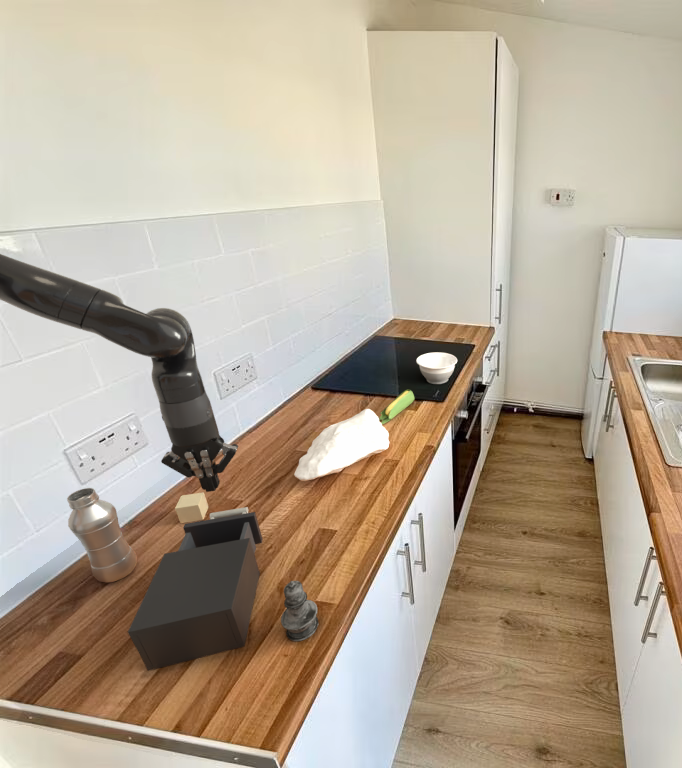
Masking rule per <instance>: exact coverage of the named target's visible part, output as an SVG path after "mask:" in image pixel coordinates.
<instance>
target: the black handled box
mask: <svg viewBox="0 0 682 768" xmlns="http://www.w3.org/2000/svg"><path fill="white" fill-rule="evenodd" d="M260 575H261V572H260V569H259V565H258V562H257V559H256V555H254V552H253V548H252V545H251V542H250V538H246V539H241V540H236V541H230V542H225V543H219V544H214V545H209V546H203V547H198V548H192V549H187V550H182V551H178V550H176V551H173V552H166V553H164V554H163V556H162V558H161V560H160V563H159V564H158V566H157V569H156V571H155V573H154V575H153V577H152V580H151V581H150V584H149V586H148V588H147V590H146V592H145V594H144V596H143V599H142V600H141V603H140V604H139V607H138V610H137V611H136V614H135V616H134V618H133V620H132V622H131V624H130V626H129V628H128V631H127V634H128V636H129V637H130V639H131V641H132V643H133V645H134V647H135V649H136V650H137V652H138V655H139V656H140V659H141V660H142V662H143V664H144V666H145V667H146V670H147V671H148V672H149V671H153V670H157V669H160V668H164V667H169V666H174V665H176V664H177V665H178V664H180V663H181V664H182V663H184V662H189V661H192V660H197V659H201V658H203V657H204V658H205V657H208V656H212V655H216V654H220V653H224V652H228V651H232V650H236V649H240V648H243V647H245V645H246V641H247V636H248V632H249V628H250V627H249V626H250V622H251V618H252V613H253V609H254V608H253V607H254V603H255V598H256V595H257V589H258V584H259V580H260Z"/></svg>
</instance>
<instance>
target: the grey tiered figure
mask: <svg viewBox="0 0 682 768" xmlns="http://www.w3.org/2000/svg"><path fill="white" fill-rule="evenodd" d="M283 594H284V598H285V600H284V601H283V602H284V603H283V605H284V607H285V610H284V611H283V613H282V614H281V618H280V623H281V626H282V627H283V629H285V630H286V631H285V632H286V633H285V634H286V637H287V639H289V640H290V641H292V642H302V641H305V640H307V639H310V637H312V636H313V635H314V634H315V632H316V631H317V629H318V628H319V627H318V626H319V618H318V617H317V614H318V606H317V604H316V602H315V601H313V600H311V599H308V594H307V593H306V591H304V586H303V583H302V582H301V581H299V580H290V581H289V582H288V583H287V584H286V585H285V586H284V588H283Z"/></svg>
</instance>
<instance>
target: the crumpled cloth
mask: <svg viewBox="0 0 682 768" xmlns="http://www.w3.org/2000/svg"><path fill="white" fill-rule="evenodd" d="M379 419H380V417H379V416H378V415H377V414H376V413H375V412H374V411H373V410H372V409H370V408H365V409H363V410H361V411H360V412H358V413H357V414H354V415H353V416H351V417H350V418H347V419H344V420H342V421H339V422H337V423H333V424H331V425H329V426H328V427H325V428H324V429H323V430H322V431H321V432H320V433H319V435H318V436H316V438H314V439H313V440H312V442H311V445H310V447H309V448H307V451H306V454H304V455H302V456H301V457H300V458H299V460H298V466H297V467H296V469H295V471H294V474H293V477H295V478H296V479H298V480H299V481H301V482H308V481H313V480H315V479H317V478H323V477H325V476H330V475H331V474H339V473H340V472H341V471H343V470H344V469H345V468H348V467H349V466H351V465H353V464H355V463H357V462H359V461H361V460H363V459H367V458H369V457H371V456H374V455H376V454H380V453H383V452H385V451H386V450H388V448H390V447H389V446H390V439H389V437H390V433H389V431H388V430H387V429H386V427H384V426H383V424H382V423H381V422H382V421H380V420H379Z"/></svg>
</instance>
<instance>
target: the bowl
mask: <svg viewBox="0 0 682 768" xmlns="http://www.w3.org/2000/svg"><path fill="white" fill-rule="evenodd" d="M415 362H416V364H417V365H418V366H419V370H420V373H421V374H422V376H424V378H425V380H426V382H427V383H429V384H433V385H442V384H445V383H447V382H448V381H449V378H450V377H451V376H452V375H453V373H454V370H455V367H456V364H457V363H458V358H457V357H456V356H455V355H453V354H451V353H447V352H440V351H439V352H438V351H437V352H428V353H424V354H421V355H419V356H418V357H417V358H416V361H415Z"/></svg>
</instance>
